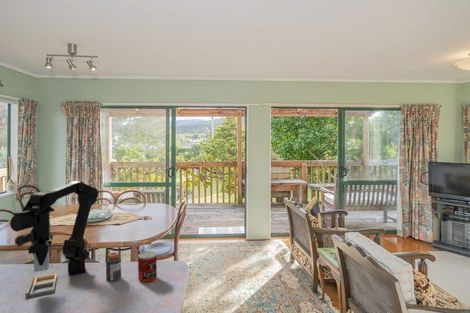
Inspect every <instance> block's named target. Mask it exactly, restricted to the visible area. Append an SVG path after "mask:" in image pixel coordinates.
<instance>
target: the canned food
mask: <svg viewBox="0 0 470 313" xmlns="http://www.w3.org/2000/svg"><path fill="white" fill-rule="evenodd" d="M137 255H138V256H137V271H138V272H137V274H138V278H137V279H138V282H140V283H141V284H150V283H153V282H154V281H155V280H156V279H157V278H158V277H157V276H158V275H157V272H158V271H157V269H158V268H157V262H158V261H157V252H156V251H151V250H149V251H147V250H146V251H143V252H140V253H139V254H137Z"/></svg>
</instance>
